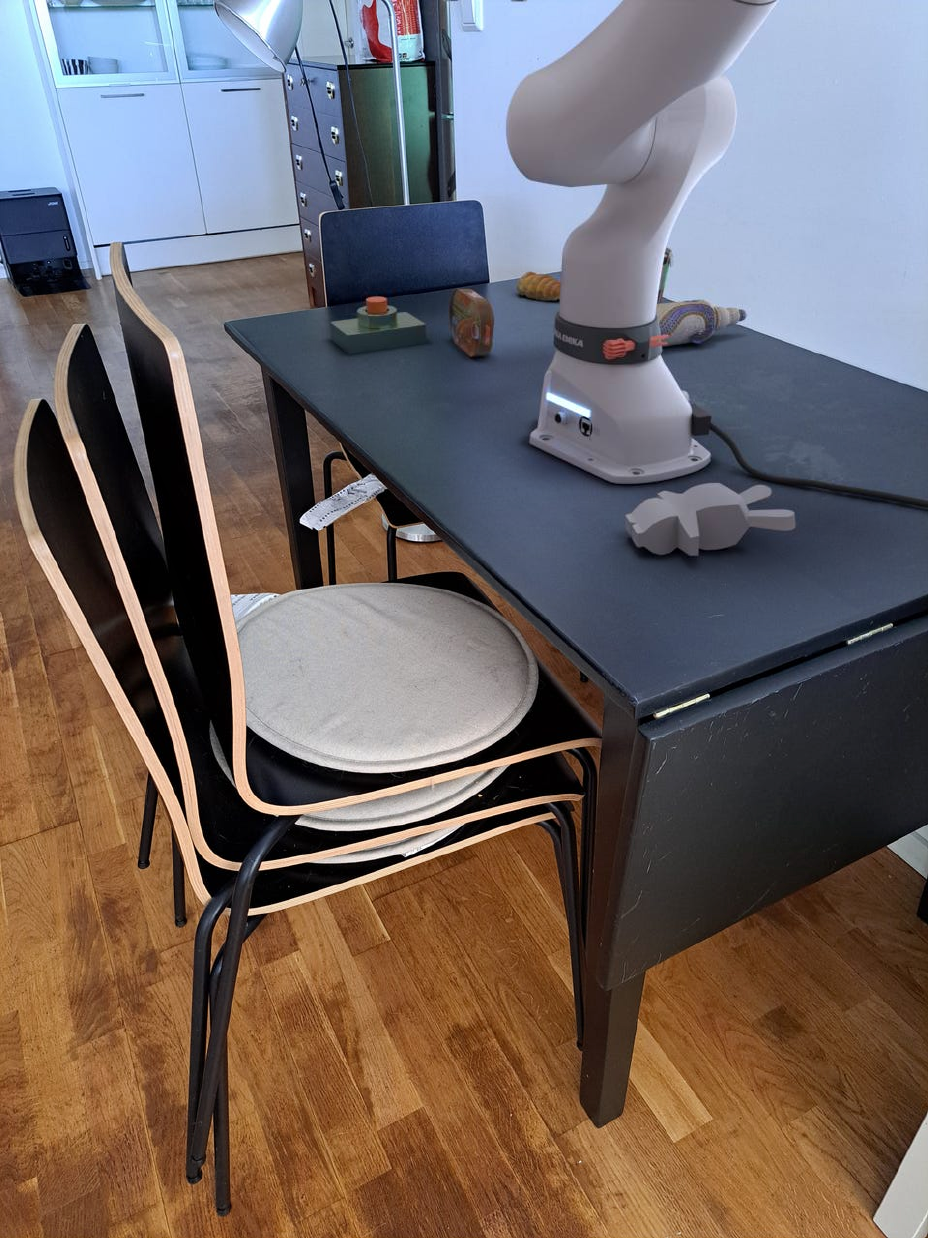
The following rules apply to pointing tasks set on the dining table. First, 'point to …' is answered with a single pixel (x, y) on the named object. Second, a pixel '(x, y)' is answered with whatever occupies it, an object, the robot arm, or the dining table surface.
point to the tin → (471, 322)
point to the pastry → (539, 286)
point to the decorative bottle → (694, 320)
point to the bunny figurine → (702, 518)
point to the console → (377, 331)
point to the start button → (376, 305)
